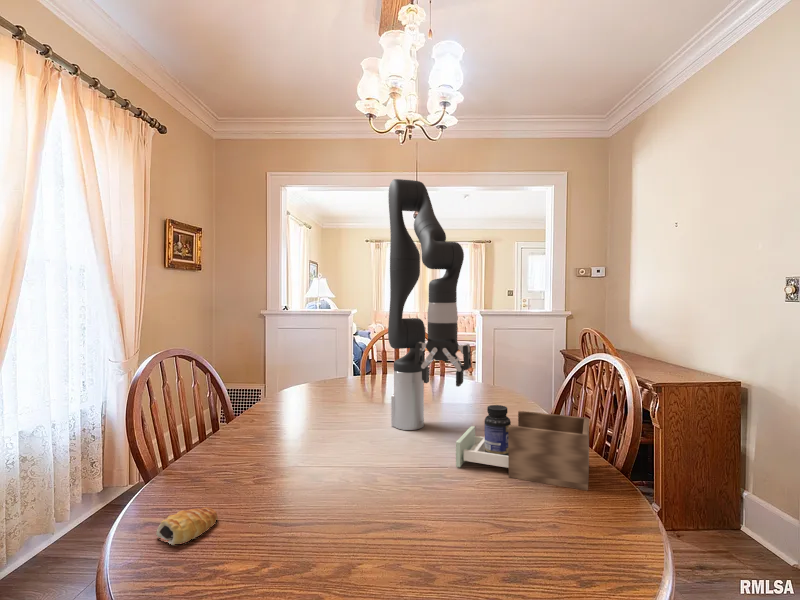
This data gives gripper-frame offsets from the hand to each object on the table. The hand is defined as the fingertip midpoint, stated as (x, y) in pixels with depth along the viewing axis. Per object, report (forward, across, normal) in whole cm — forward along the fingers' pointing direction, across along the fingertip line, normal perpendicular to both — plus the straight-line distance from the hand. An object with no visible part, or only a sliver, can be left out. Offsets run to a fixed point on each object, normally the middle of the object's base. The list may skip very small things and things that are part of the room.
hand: (442, 384), depth 107 cm
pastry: (+18, -29, -52) cm, 62 cm away
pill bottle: (+15, +14, -1) cm, 21 cm away
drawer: (+17, +14, -1) cm, 22 cm away
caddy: (+17, +26, -1) cm, 31 cm away
